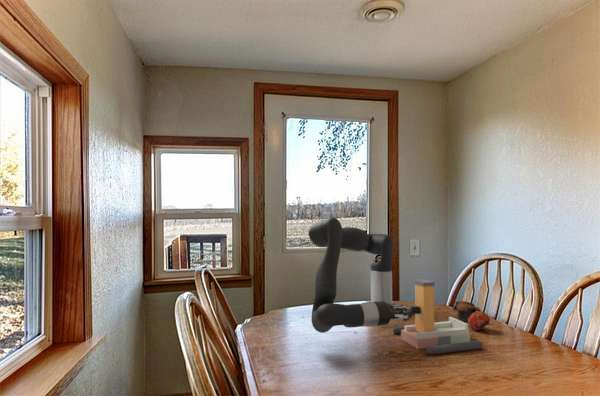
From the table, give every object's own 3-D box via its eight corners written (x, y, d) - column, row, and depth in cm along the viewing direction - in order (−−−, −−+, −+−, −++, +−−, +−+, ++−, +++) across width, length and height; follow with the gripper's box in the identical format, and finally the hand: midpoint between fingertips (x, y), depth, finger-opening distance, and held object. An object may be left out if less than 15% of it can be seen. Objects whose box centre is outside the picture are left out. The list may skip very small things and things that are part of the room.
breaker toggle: (423, 335, 126) (423, 282, 126) (414, 330, 131) (414, 279, 132) (435, 333, 127) (434, 282, 128) (425, 328, 132) (425, 279, 133)
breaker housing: (417, 349, 123) (417, 330, 123) (401, 338, 132) (400, 321, 132) (469, 342, 128) (469, 324, 128) (450, 333, 138) (450, 316, 138)
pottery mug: (447, 320, 155) (448, 300, 159) (462, 327, 159) (463, 308, 163) (473, 319, 145) (474, 298, 149) (489, 327, 149) (489, 306, 153)
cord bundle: (394, 335, 136) (394, 328, 136) (391, 332, 138) (391, 326, 138) (443, 329, 142) (443, 323, 142) (439, 327, 144) (439, 321, 144)
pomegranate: (492, 336, 141) (473, 314, 148) (501, 324, 137) (481, 302, 144) (477, 341, 138) (459, 319, 145) (486, 329, 134) (467, 306, 141)
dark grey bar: (428, 356, 117) (428, 348, 117) (424, 353, 119) (424, 345, 119) (484, 349, 122) (484, 341, 122) (478, 346, 125) (478, 339, 125)
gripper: (382, 307, 118) (431, 303, 123) (363, 297, 130) (408, 294, 135) (382, 332, 118) (431, 326, 122) (363, 319, 130) (408, 315, 135)
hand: (419, 309), depth 129 cm, fingers closed
